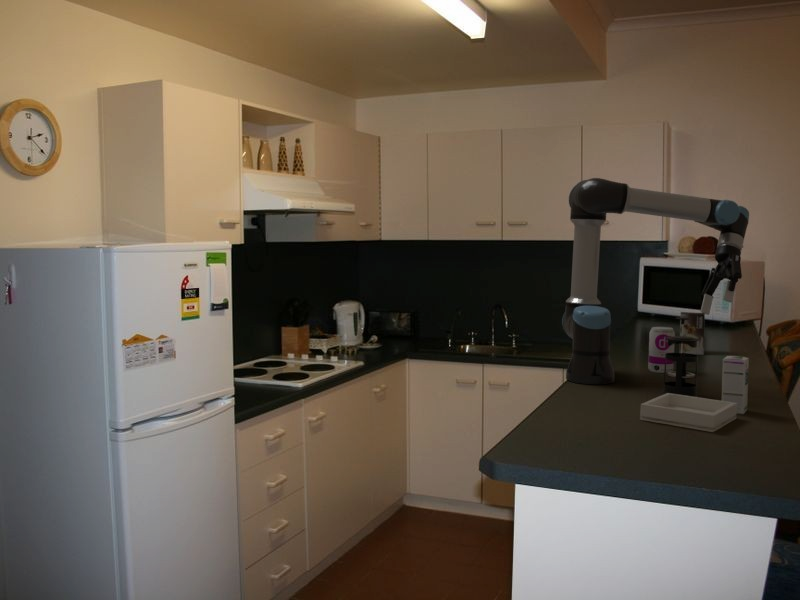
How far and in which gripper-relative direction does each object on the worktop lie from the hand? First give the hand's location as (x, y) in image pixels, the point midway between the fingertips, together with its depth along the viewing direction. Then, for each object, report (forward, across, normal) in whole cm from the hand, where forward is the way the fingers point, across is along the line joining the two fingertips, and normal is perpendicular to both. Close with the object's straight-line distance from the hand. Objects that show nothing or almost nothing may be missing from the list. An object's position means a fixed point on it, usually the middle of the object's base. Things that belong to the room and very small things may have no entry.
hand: (715, 307), depth 239 cm
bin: (+49, -33, +15) cm, 61 cm away
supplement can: (+17, +26, +2) cm, 31 cm away
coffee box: (-8, +59, -22) cm, 63 cm away
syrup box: (+41, -26, +1) cm, 49 cm away
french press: (+35, -8, +8) cm, 37 cm away
